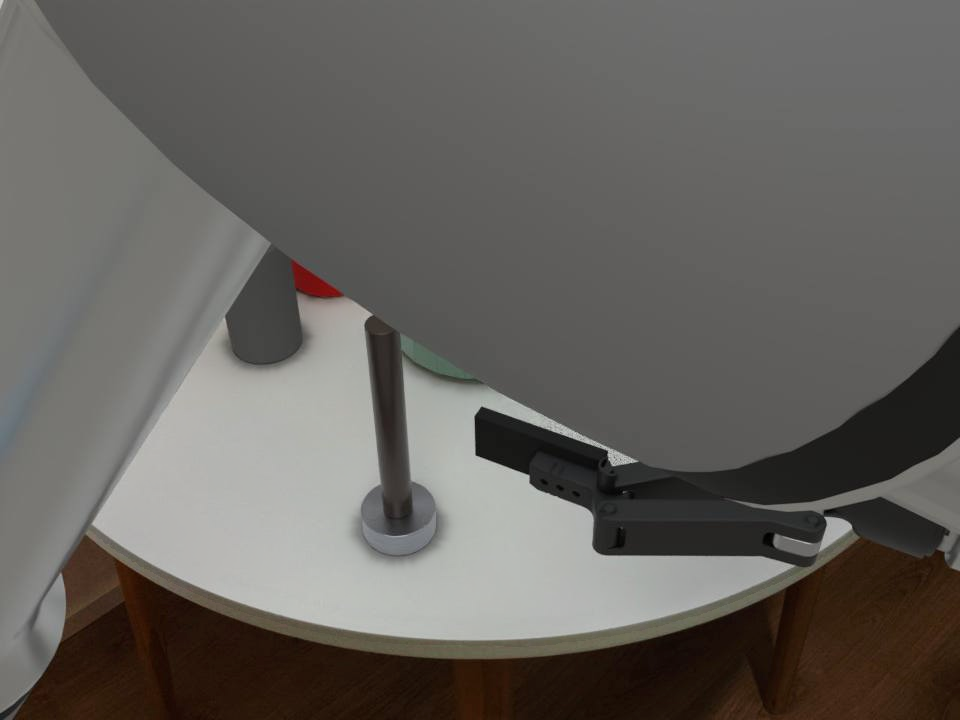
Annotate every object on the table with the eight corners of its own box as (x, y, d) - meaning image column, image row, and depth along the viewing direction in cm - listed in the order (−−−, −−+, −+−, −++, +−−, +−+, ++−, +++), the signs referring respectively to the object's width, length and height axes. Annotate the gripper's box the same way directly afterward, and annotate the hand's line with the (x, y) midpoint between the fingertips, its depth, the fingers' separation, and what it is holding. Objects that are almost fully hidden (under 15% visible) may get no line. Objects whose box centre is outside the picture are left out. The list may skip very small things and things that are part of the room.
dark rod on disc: (388, 568, 69) (367, 364, 58) (349, 520, 72) (321, 317, 61) (450, 532, 72) (442, 328, 60) (409, 488, 75) (394, 286, 63)
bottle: (309, 320, 89) (287, 165, 79) (293, 366, 84) (267, 209, 75) (242, 316, 89) (210, 162, 79) (222, 362, 85) (187, 205, 75)
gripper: (883, 756, 42) (424, 563, 50) (977, 380, 59) (621, 278, 66) (934, 650, 37) (415, 453, 45) (1021, 271, 54) (630, 174, 61)
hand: (537, 348), depth 55 cm, fingers open, 13 cm apart
